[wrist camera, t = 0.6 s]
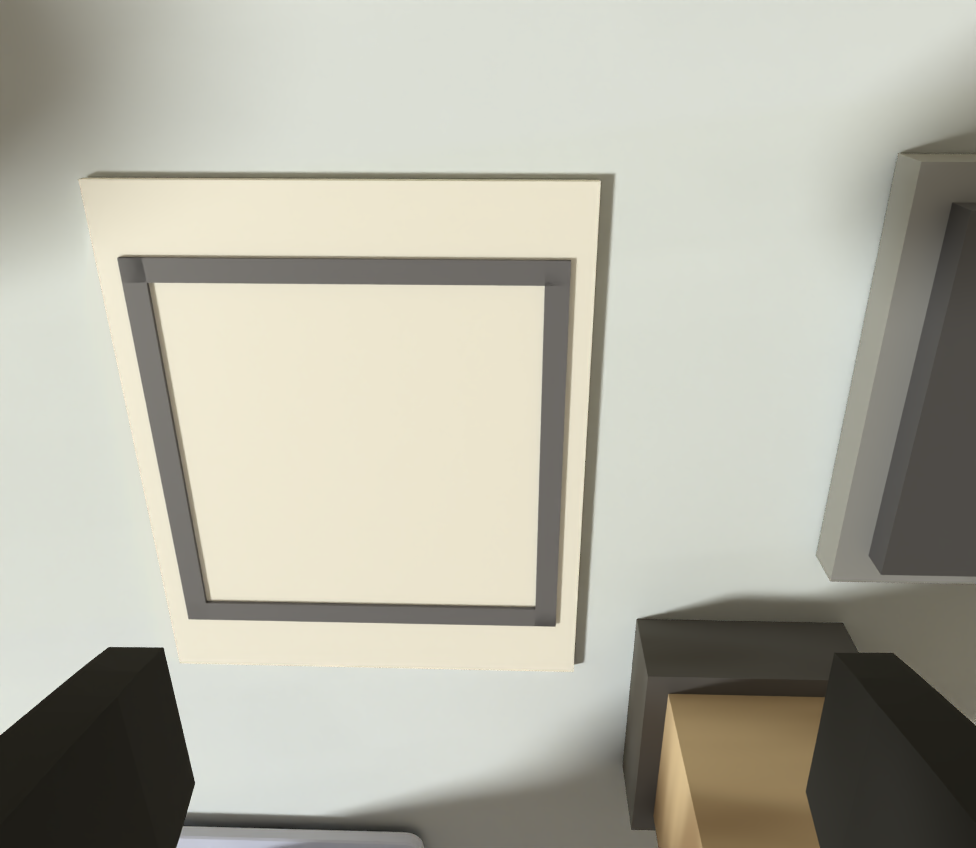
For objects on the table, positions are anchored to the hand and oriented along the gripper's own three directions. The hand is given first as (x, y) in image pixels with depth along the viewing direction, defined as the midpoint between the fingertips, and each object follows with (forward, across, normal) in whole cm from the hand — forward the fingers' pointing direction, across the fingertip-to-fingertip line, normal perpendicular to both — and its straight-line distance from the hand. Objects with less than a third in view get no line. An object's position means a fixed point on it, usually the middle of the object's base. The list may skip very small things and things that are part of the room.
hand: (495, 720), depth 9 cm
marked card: (+10, +3, +2) cm, 10 cm away
